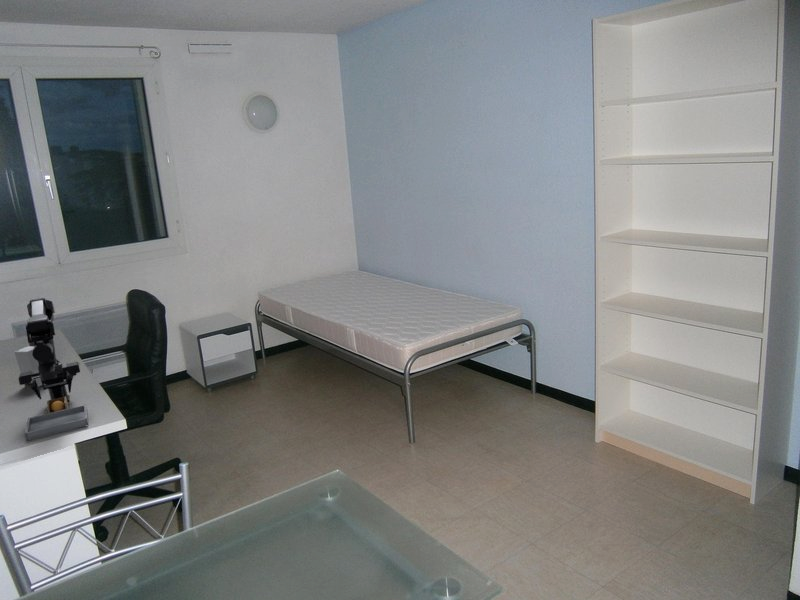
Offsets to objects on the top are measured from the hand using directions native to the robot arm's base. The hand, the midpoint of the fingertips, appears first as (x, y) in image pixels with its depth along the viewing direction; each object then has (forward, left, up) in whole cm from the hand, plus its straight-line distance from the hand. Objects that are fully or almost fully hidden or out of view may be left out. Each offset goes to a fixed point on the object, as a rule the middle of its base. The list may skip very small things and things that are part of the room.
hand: (55, 395), depth 218 cm
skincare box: (-43, -9, -7) cm, 45 cm away
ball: (+1, 0, -4) cm, 4 cm away
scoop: (+1, 0, -7) cm, 7 cm away
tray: (+13, 0, -7) cm, 15 cm away
